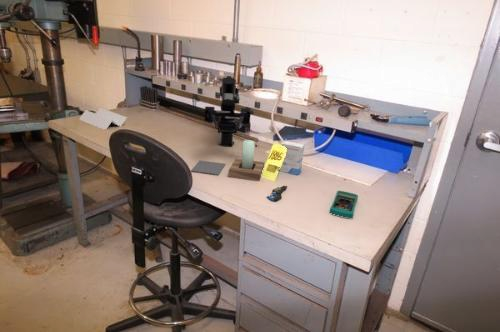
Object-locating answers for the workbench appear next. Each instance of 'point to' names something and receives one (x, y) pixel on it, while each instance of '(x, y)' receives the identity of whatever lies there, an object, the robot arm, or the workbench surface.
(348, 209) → the digital multimeter
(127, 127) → the workbench surface
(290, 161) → the ink box
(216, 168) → the mat
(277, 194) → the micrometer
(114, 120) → the z bracket
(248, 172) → the socket block
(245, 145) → the pin
